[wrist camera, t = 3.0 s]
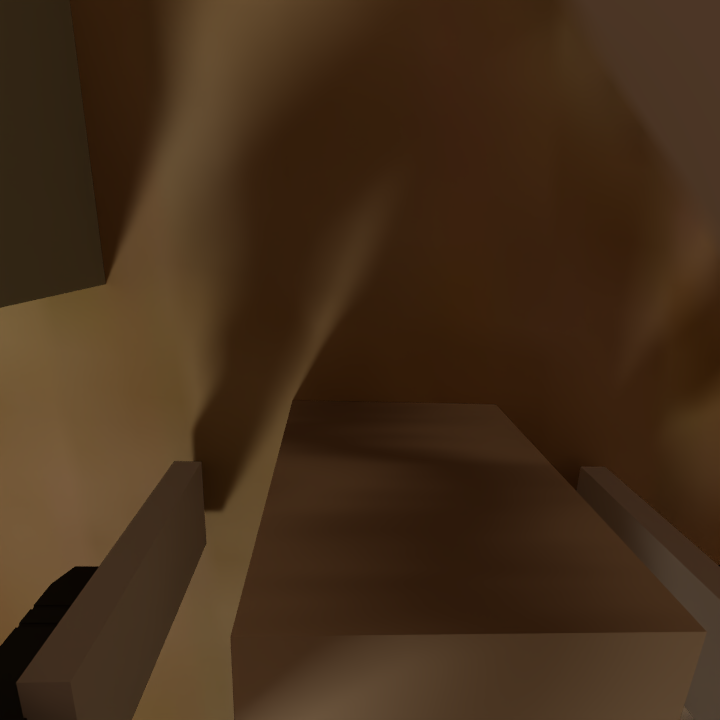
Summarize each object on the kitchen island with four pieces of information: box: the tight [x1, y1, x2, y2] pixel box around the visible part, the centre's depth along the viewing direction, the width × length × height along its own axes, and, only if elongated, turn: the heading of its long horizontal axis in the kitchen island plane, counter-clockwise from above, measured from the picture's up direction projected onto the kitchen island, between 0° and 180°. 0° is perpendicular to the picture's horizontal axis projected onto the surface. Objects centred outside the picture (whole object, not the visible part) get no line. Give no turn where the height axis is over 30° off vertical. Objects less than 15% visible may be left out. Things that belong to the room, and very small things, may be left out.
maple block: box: [231, 400, 707, 720], centre depth 10 cm, size 6×6×8 cm
